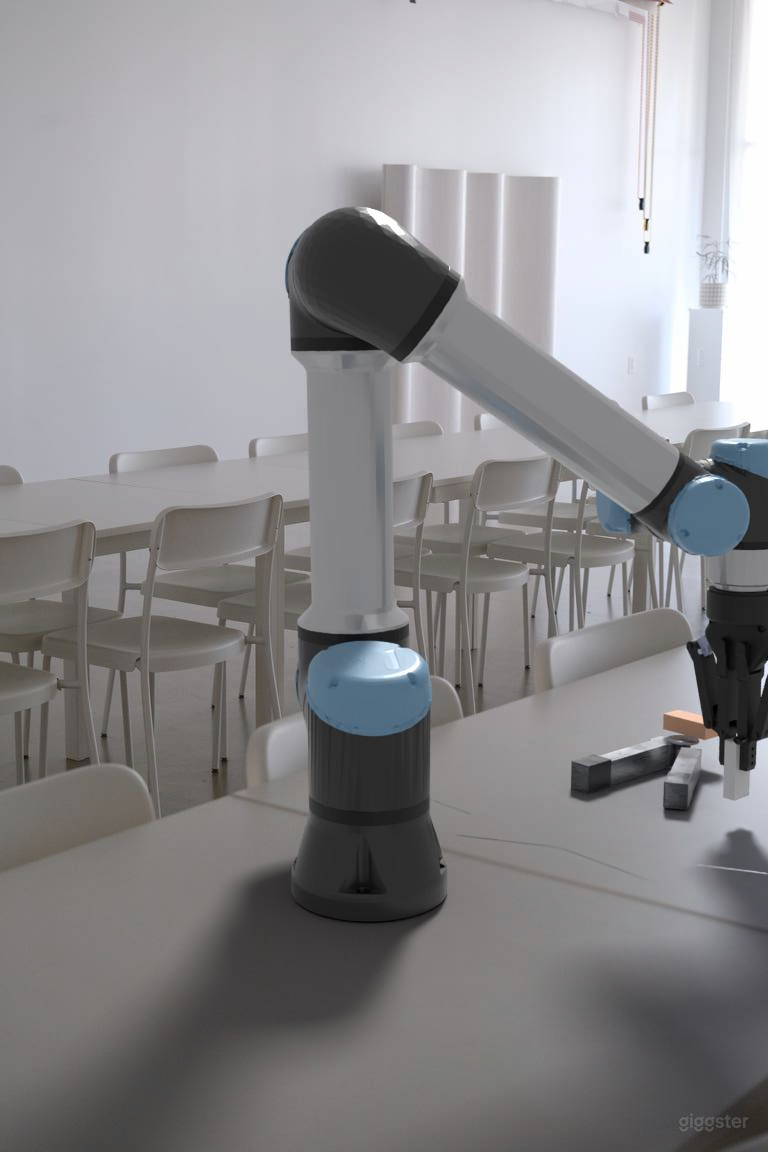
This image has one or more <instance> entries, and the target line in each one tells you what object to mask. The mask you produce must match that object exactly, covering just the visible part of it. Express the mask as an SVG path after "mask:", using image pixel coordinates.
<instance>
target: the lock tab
mask: <svg viewBox="0 0 768 1152" xmlns="http://www.w3.org/2000/svg"><path fill="white" fill-rule="evenodd" d="M662 722H663V723H662V730H666V731H669V732H672V733H676V734H679V735H687V736H691V737H694V738H698V739H699V740H703V741H708V740H710V739H714V738H716V737H719V736H718V734H717V733H716V732H715V731H714V730H712V729H707V728H705V726H704V723H703V717H702V714H699V713H698V714H697V713H693V712H690V711H685V710H681V709H676V710H671V711H669V712H665V713H663V721H662Z"/></svg>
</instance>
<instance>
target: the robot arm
mask: <svg viewBox="0 0 768 1152" xmlns="http://www.w3.org/2000/svg"><path fill="white" fill-rule="evenodd" d="M284 285H285V292H286V293H287V298H288V299H289V301H288V302H289V330H290V331H289V333H290V334H289V336H290V355H291V356H292V357H293V358H294V359H296V361H298V362H299V363H300V365H301V366H302V367H303V368H304V369H305V371H306V403H307V404H306V407H307V409H306V410H307V413H306V414H307V415H306V417H307V452H308V453H307V455H308V458H307V459H308V495H309V496H308V497H309V501H308V502H309V536H310V537H309V541H310V542H309V543H310V544H309V545H310V579H311V580H310V581H311V583H310V587H311V590H310V591H311V593H310V594H311V603H310V605H309V607H308V608H307V609H306V610H305V611H304V612H303V613H302V614H301V615H300V616H299V618H297V645H298V646H297V655H298V657H297V658H298V659H297V665H296V667H297V669H296V671H295V673H294V674H295V676H294V685H295V687H294V688H295V695H296V698H297V701H298V704H299V706H300V709H301V711H302V715H303V720H304V723H305V728H306V734H307V751H308V752H307V757H308V758H307V760H308V763H307V764H308V767H307V768H308V816H307V820H306V823H305V826H304V830H303V833H302V837H301V840H300V844H299V847H298V851H297V852H298V853H297V856H296V857H295V859H294V862H293V864H292V866H291V871H290V872H291V873H290V874H291V881H290V882H291V884H290V885H291V886H290V887H291V895H292V898H293V899H294V901H295V902H296V903H297V904H298V905H300V906H302V908H304V909H306V910H308V911H310V912H312V913H315V914H317V915H321V916H322V917H323V916H324V917H328V918H333V919H336V920H343V921H351V922H352V921H353V922H356V921H357V922H383V921H384V922H385V921H395V920H401V919H406V918H411V917H415V916H418V915H421V914H423V913H426V912H428V911H431V910H432V909H433V908H436V907H437V906H438V905H440V904H441V903H442V902H444V900H445V899H446V896H447V894H448V885H449V881H448V875H449V874H448V873H449V872H448V866H447V863H446V860H445V858H444V857H443V853H442V849H441V845H440V841H439V838H438V835H437V832H436V829H435V827H434V824H433V820H432V816H431V808H430V807H431V796H430V795H431V794H430V793H431V706H432V701H433V696H434V693H433V685H432V681H431V673H430V668H429V665H428V663H427V661H426V660H425V658H423V656H422V655H421V654H419V653H418V652H416V651H414V650H413V649H411V648H410V646H411V645H410V617H409V615H408V614H407V613H406V612H404V610H403V609H401V608H400V607H399V606H398V605H397V603H396V601H395V552H394V551H395V548H394V547H395V545H394V543H395V541H394V538H395V537H394V535H395V533H394V463H393V462H394V460H393V459H394V458H393V457H394V455H393V384H392V383H393V378H392V376H393V375H392V373H393V368H394V367H395V366H396V364H397V363H400V364H402V365H404V364H405V365H406V364H410V363H419V364H420V365H421V366H423V367H425V368H426V369H427V370H428V371H430V372H432V373H433V374H434V375H436V376H437V377H439V378H440V379H442V380H443V381H444V382H445V383H447V384H448V385H449V386H451V387H452V388H454V389H456V390H457V391H458V392H460V393H461V394H462V395H464V396H465V397H467V398H468V399H470V400H471V401H472V402H473V403H475V404H476V405H478V406H479V407H480V408H482V409H484V410H485V411H486V412H488V413H489V414H491V415H492V416H494V417H495V418H496V419H497V420H498V421H501V423H503V424H505V426H507V427H509V428H510V429H512V430H513V431H514V432H516V433H517V434H518V435H520V436H522V437H523V438H524V439H526V440H527V441H529V443H531V444H533V445H534V446H536V447H537V448H538V449H540V450H541V451H543V452H544V453H545V454H546V455H548V456H550V457H551V458H552V459H553V460H554V461H556V462H558V463H559V464H561V465H562V466H564V467H565V468H566V469H568V470H569V471H571V472H572V473H573V474H574V475H576V476H578V477H579V478H580V479H582V480H584V481H585V482H586V483H588V484H589V485H591V487H593V488H594V489H595V507H596V514H597V518H598V521H599V524H600V526H601V527H602V529H603V530H604V531H605V532H606V533H610V534H625V535H628V536H632V535H634V534H648V535H650V536H653V537H654V538H657V539H659V540H661V541H664V542H665V543H666V542H667V543H669V544H671V545H673V546H675V547H677V548H679V549H680V550H681V551H683V552H684V553H685V554H687V555H690V556H699V557H707V562H706V563H707V566H706V579H707V580H708V581H709V582H710V583H711V584H709V586H708V587H706V610H705V611H706V612H705V614H706V617H707V619H708V624H707V626H706V628H705V630H704V635H702V636H700V637H699V638H697V639H693V640H692V639H691V640H689V641H687V642H686V644H685V648H686V650H687V652H688V655H689V656H690V658H691V661H692V663H693V668H694V669H693V670H694V676H695V681H696V686H697V692H698V698H699V705H700V709H701V710H700V711H701V715H702V717H703V723H704V726H705V728H707V729H712V730H714V731H715V732H716V733H717V734H718V736H717V737H718V739H719V740H718V742H719V743H718V745H719V746H718V763H719V765H720V766H723V786H722V788H723V791H722V798H724V799H727V800H730V801H733V802H734V801H737V800H740V799H743V798H745V797H748V796H750V785H751V784H750V778H751V771H752V770H755V768H756V766H757V745H758V742H759V741H762V740H765V739H768V673H767V674H766V678H765V680H764V681H765V682H764V685H763V689H762V680H763V678H764V676H765V665H766V663H768V438H767V439H765V438H751V437H750V438H745V437H744V438H742V437H741V438H725V439H724V438H721V439H716V440H715V441H713V442H712V444H711V446H710V452H709V454H708V458H702V459H696V460H693V459H692V458H691V457H689V456H687V455H686V454H684V453H683V452H681V451H680V450H679V449H678V448H677V447H676V446H674V445H673V444H671V443H670V442H669V441H668V440H666V439H665V438H663V436H661V435H659V434H658V433H657V432H656V431H655V430H653V429H651V428H650V427H649V426H647V425H646V424H645V423H644V422H642V421H640V420H639V419H638V418H636V416H633V415H632V414H631V413H629V412H628V411H627V410H625V409H624V408H622V407H621V406H620V405H619V404H617V403H616V402H615V401H613V400H612V399H611V398H609V397H608V396H606V394H604V393H602V392H601V391H599V390H598V389H597V388H596V387H594V386H593V385H592V384H590V383H589V382H588V381H587V380H585V379H584V378H582V376H579V375H578V374H577V373H575V372H574V371H572V370H571V369H570V368H569V367H567V366H566V365H565V364H563V363H562V362H560V361H559V360H558V359H556V358H555V357H553V356H552V355H551V354H550V353H548V352H547V351H545V350H544V349H543V348H541V347H540V346H539V345H537V344H536V343H534V342H533V341H531V339H529V338H528V337H526V336H525V335H523V334H522V333H521V332H519V330H517V329H515V328H514V327H513V326H511V325H510V324H509V323H507V322H506V321H505V320H503V318H500V317H499V316H498V315H497V314H495V313H494V312H492V311H491V310H489V309H488V308H487V307H485V306H484V304H481V303H480V301H478V300H476V299H475V298H474V297H472V296H471V295H469V294H468V291H467V289H466V283H465V277H464V276H463V275H462V274H461V273H459V272H458V271H456V270H455V269H454V268H453V267H451V266H449V265H448V264H447V263H446V262H445V261H443V260H442V259H441V258H439V256H438V255H436V254H434V252H432V251H431V250H430V249H429V248H428V247H427V246H425V244H423V243H422V242H420V241H419V239H417V238H416V237H415V236H414V235H413V234H411V232H410V231H408V230H407V228H405V227H404V226H403V225H401V224H400V223H399V222H398V221H397V220H395V219H394V218H393V217H391V216H389V215H387V214H385V213H384V212H382V211H380V210H376V209H373V208H370V207H367V206H355V205H353V206H344V207H341V208H337V209H334V210H331V211H329V212H327V213H325V214H323V215H321V216H320V217H319V218H318V219H316V220H315V221H314V222H313V223H312V224H311V225H309V226H308V227H306V228H305V230H303V231H302V233H300V235H299V236H298V238H297V239H296V240H295V241H294V243H293V245H292V247H291V248H290V252H289V253H288V256H287V259H286V263H285V269H284Z"/></svg>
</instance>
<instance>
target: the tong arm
mask: <svg viewBox="0 0 768 1152" xmlns="http://www.w3.org/2000/svg"><path fill="white" fill-rule="evenodd" d="M666 741H667V742H668V743H671V744H674V745H680V746H691V748H684V747H682V748H681V750H680V752H679V754H678V756H677V758H676V760H675V762H674V765H673V767H672V768H670V770H669V771H668V773H667V775H666V776H665V779H664V781H663V800H662V801H663V802H662V807H663V808H666V809H667V808H668V809H677V810H684V811H687V810H688V809H689V807H690V804H691V802H692V800H693V799H692V797H693V792H694V790H695V788H696V785H697V783H698V782H699V781H698V780H699V778H700V776H701V773H702V772H701V771H702V751H703V750H702V748H695V747H694V748H693V747H692V746H696V745H698V744H699V743H700V739H698V738H694V737H691V736H687V735H683V734H675V735H674V734H672V735H668V736H667V738H666Z"/></svg>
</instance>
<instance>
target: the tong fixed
mask: <svg viewBox="0 0 768 1152" xmlns="http://www.w3.org/2000/svg"><path fill="white" fill-rule="evenodd" d="M667 737H668V736H667ZM667 737H666V736H663V735H659V736H656V737H653V738H649V739H648V740H647V741H645V742H640V743H637V744H634V745H631V746H628V747H624V748H621V749H617V750H614V751H610V752H607V753H604V754H601V755H597V754H594V753H593V754H591V755H587V756H584V757H580V758H577V759H574V760H571V763H570V764H571V767H570V768H571V769H570V770H571V771H570V788H571V789H573V790H577V791H579V792H583V793H586V794H590V793H594V792H596V791H600V790H603V789H606V788H610V787H611V786H615V785H617V784H620V783H624V782H626V781H629V780H633V779H636V778H638V777H642V776H645V775H647V774H651V773H654V772H657V771H661V770H663V769H672V767H673V765H674V762H675V760H676V758H677V756H678V754H679V752H680V750H681V748H682V747H684V748H692V746H680V745H674V744H671V743H668V742H667V741H666V738H667Z"/></svg>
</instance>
